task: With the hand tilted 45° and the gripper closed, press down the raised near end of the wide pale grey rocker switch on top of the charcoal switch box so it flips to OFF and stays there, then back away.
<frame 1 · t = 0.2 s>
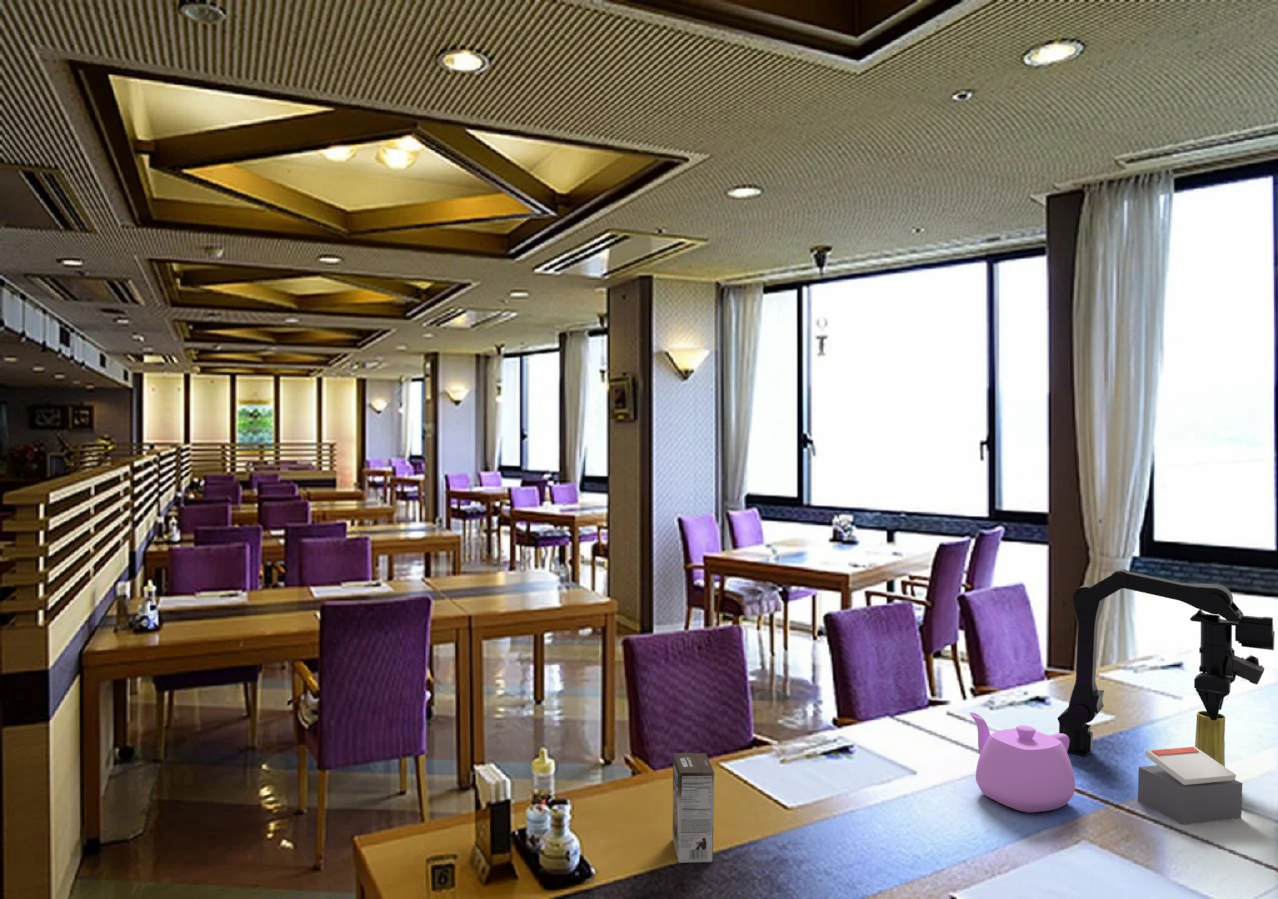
hand: (1215, 714, 189), 15 cm above the table, tool pointing down, fingers open, 9 cm apart
switch box: (1188, 809, 175), on the table
teapot: (1021, 799, 180), on the table
vase: (1208, 779, 191), on the table
coffee box: (691, 851, 156), on the table
rocker: (1189, 764, 175), point 9 cm above the table, hinge at 12.0°
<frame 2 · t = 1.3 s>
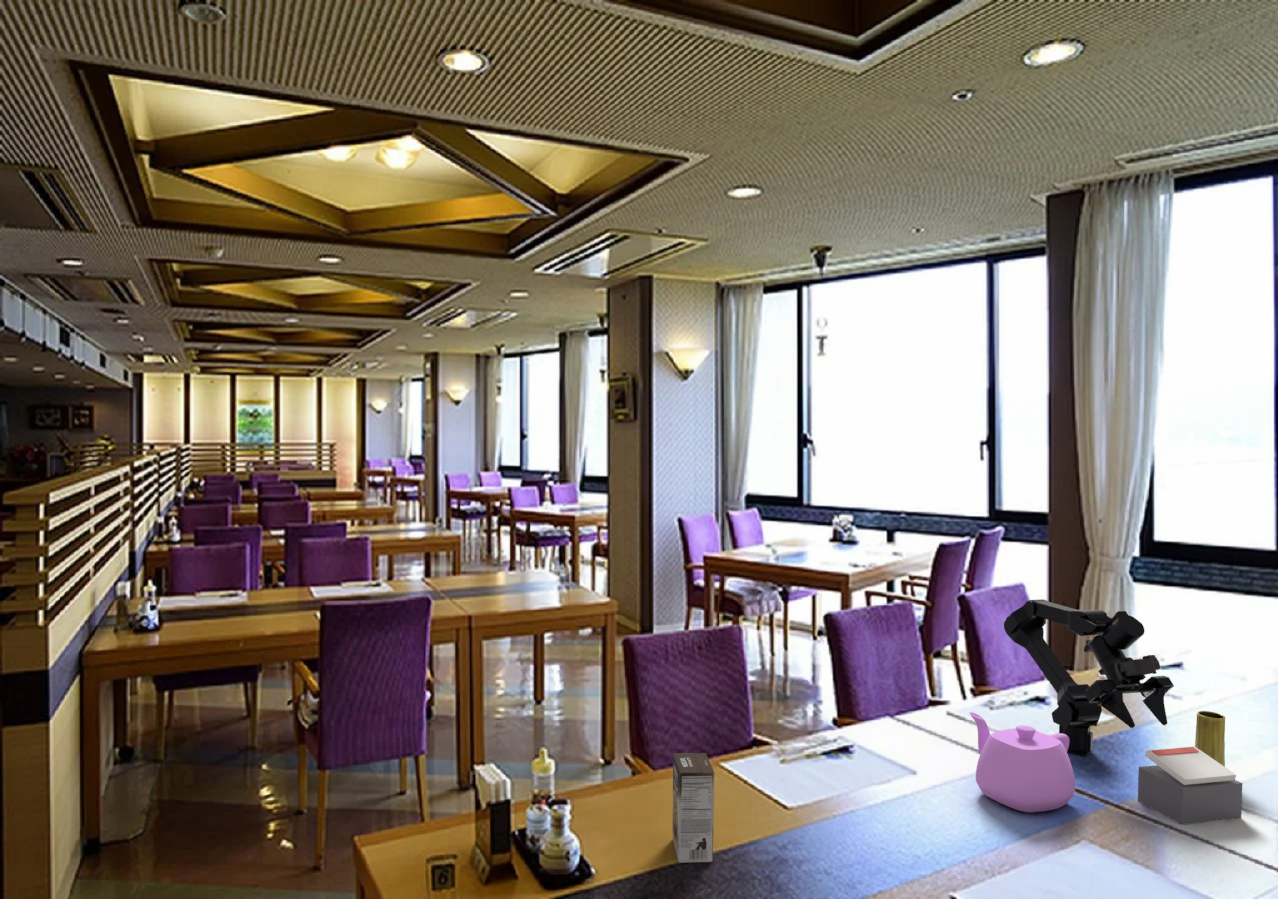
hand: (1149, 725, 185), 13 cm above the table, tool tilted 45°, fingers open, 8 cm apart
nothing on the table moved.
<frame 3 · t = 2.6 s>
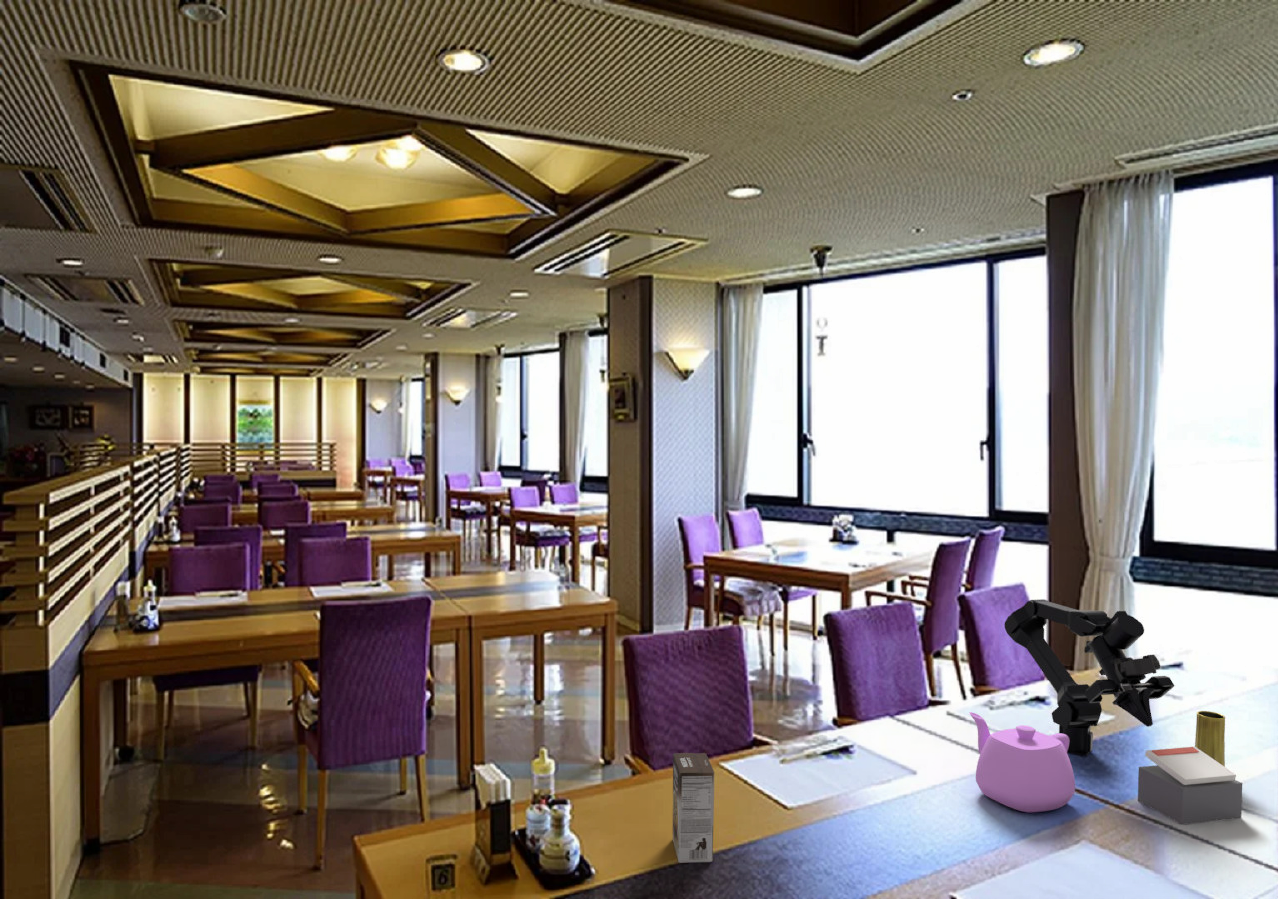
hand: (1150, 725, 185), 14 cm above the table, tool tilted 45°, fingers closed
nothing on the table moved.
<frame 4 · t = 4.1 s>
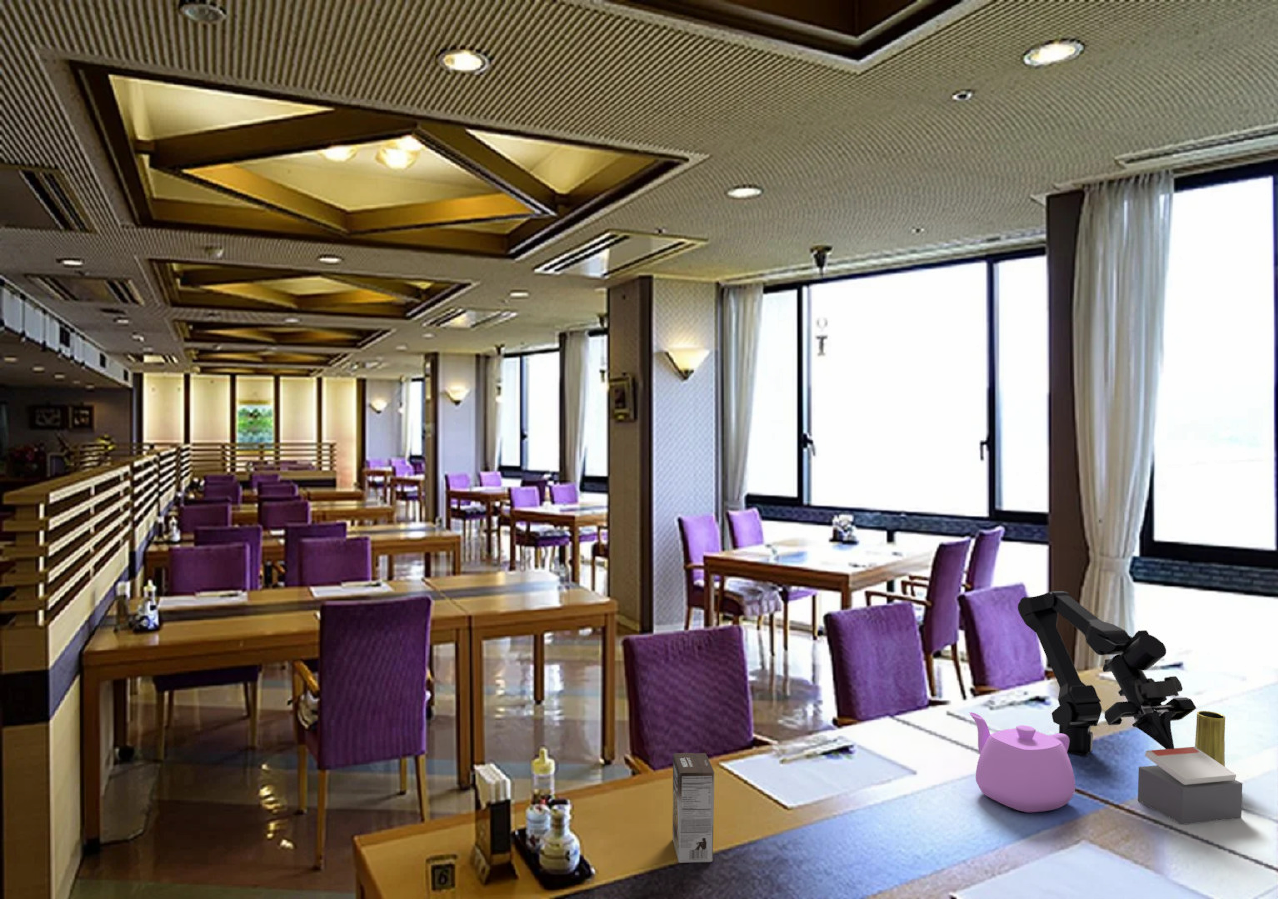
hand: (1171, 749, 180), 10 cm above the table, tool tilted 45°, fingers closed, pressing on rocker
rocker: (1189, 764, 175), point 9 cm above the table, hinge at 11.6°, touching gripper
everything else where it was.
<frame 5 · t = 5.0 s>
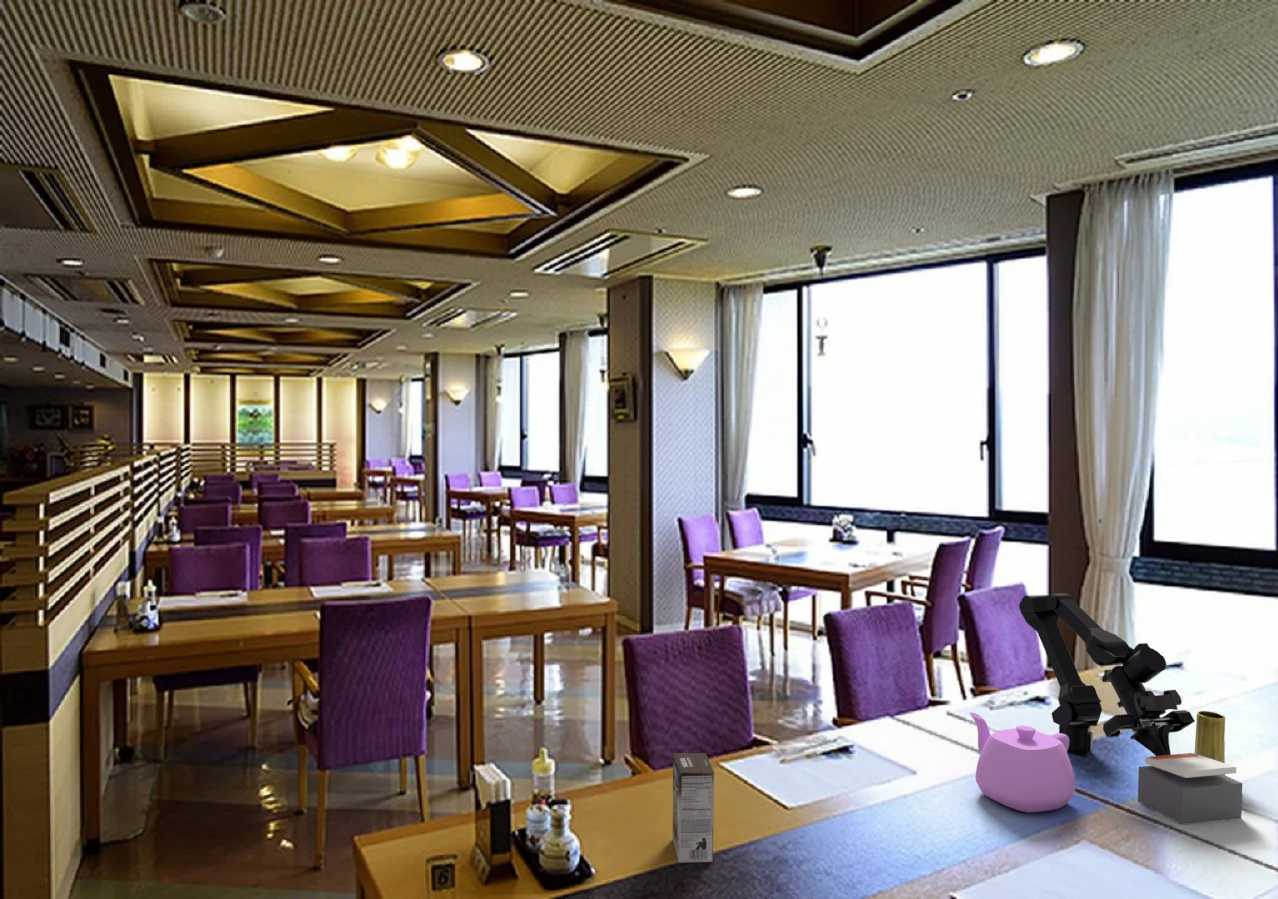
hand: (1168, 763, 180), 7 cm above the table, tool tilted 40°, fingers closed, pressing on rocker
rocker: (1189, 764, 175), point 9 cm above the table, hinge at -5.7°, touching gripper
everything else where it was.
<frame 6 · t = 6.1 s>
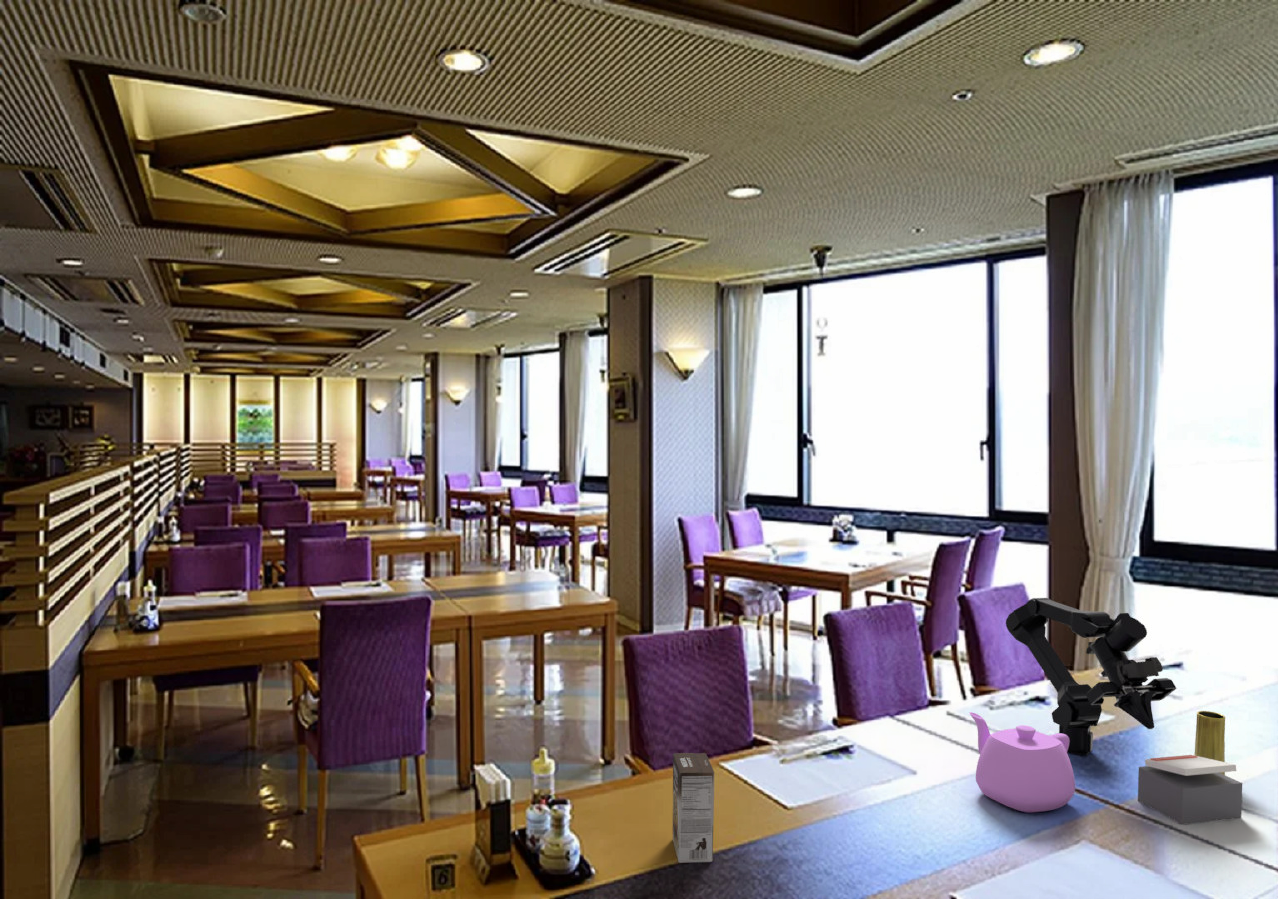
hand: (1151, 728, 185), 13 cm above the table, tool tilted 45°, fingers closed
rocker: (1189, 764, 175), point 9 cm above the table, hinge at -10.5°
everything else where it was.
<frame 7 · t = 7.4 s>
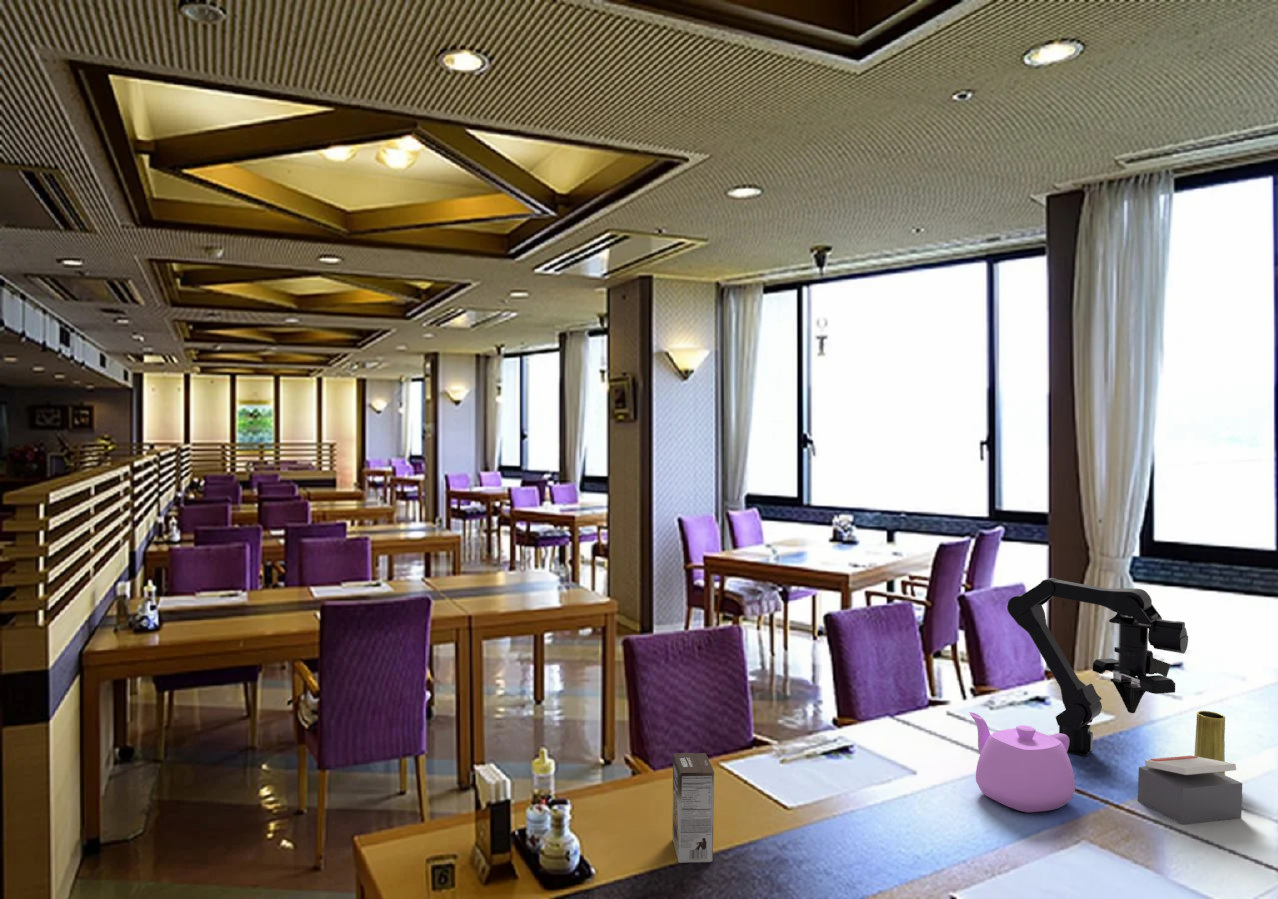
hand: (1131, 712, 198), 12 cm above the table, tool pointing down, fingers closed
rocker: (1189, 764, 175), point 9 cm above the table, hinge at -12.2°
everything else where it was.
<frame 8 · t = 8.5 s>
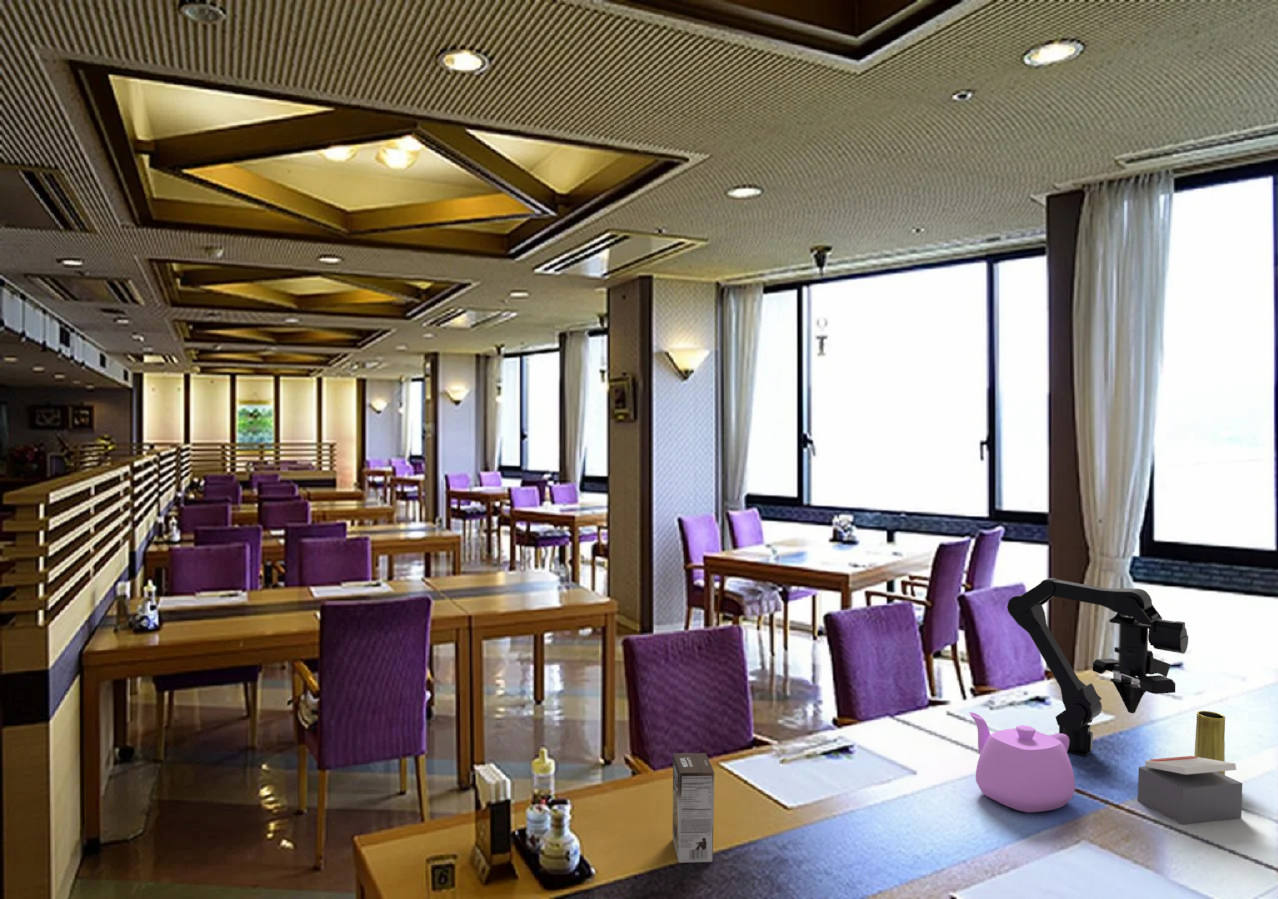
hand: (1131, 712, 198), 12 cm above the table, tool pointing down, fingers closed
rocker: (1189, 764, 175), point 9 cm above the table, hinge at -13.1°
everything else where it was.
at the end: rocker at -13° (first picture: +12°); vase moved 0.2 cm from its start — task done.
